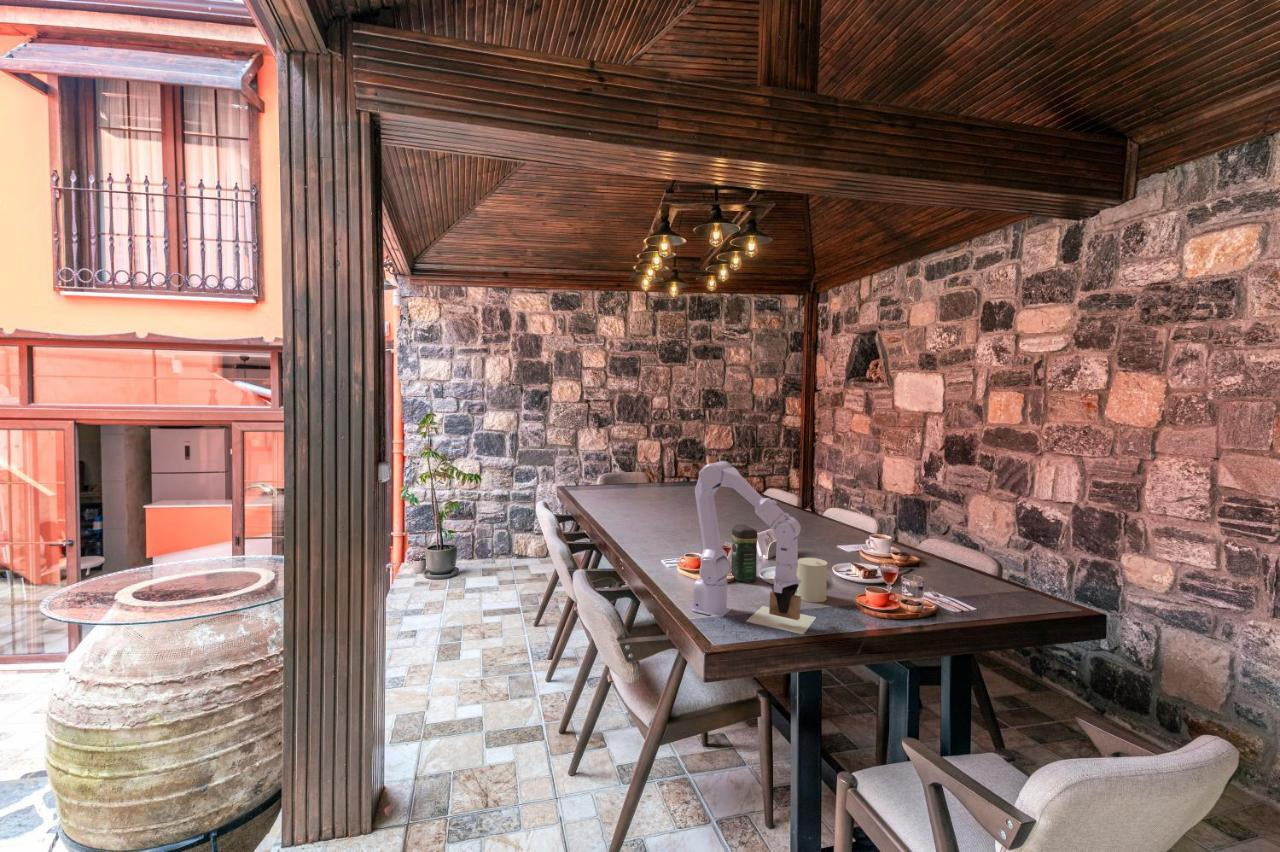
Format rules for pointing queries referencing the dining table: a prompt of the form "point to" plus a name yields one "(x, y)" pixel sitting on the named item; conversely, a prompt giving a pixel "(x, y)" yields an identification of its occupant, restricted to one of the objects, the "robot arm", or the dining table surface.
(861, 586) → the dining table surface
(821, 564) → the can
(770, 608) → the walnut slab
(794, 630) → the mat
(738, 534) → the coffee jar
